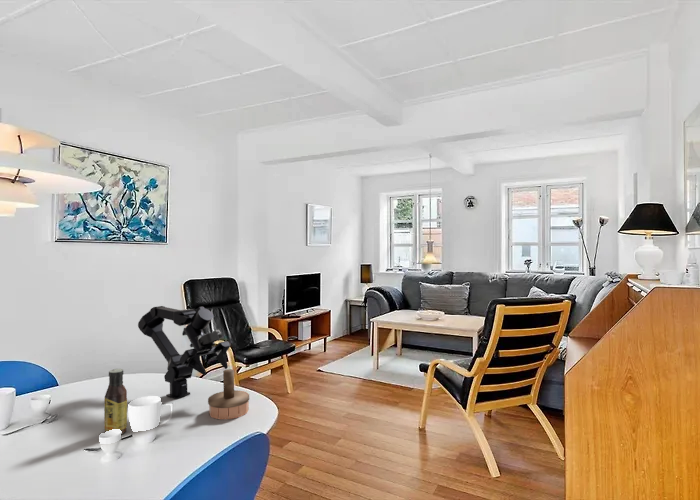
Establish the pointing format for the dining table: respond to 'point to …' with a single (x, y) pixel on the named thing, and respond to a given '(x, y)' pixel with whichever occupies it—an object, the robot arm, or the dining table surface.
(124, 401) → the sauce bottle
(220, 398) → the walnut lid
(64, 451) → the dining table surface
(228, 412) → the terracotta bowl
